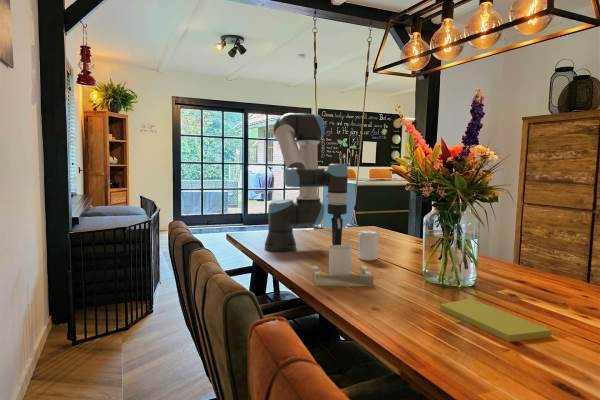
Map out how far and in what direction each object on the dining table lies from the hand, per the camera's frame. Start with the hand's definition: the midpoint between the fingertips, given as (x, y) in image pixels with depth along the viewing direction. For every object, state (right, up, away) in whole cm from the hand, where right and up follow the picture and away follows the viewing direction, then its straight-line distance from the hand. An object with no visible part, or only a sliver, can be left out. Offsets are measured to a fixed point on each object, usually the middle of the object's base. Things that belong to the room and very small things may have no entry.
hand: (336, 263), depth 152 cm
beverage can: (+15, -1, +16) cm, 22 cm away
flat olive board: (+36, -8, -50) cm, 62 cm away
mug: (0, -3, -7) cm, 7 cm away
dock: (0, -4, -15) cm, 15 cm away
